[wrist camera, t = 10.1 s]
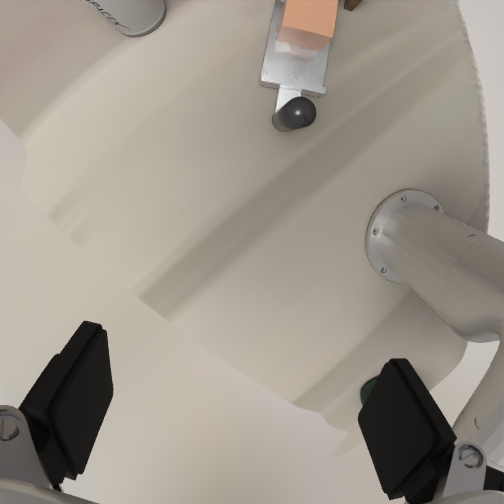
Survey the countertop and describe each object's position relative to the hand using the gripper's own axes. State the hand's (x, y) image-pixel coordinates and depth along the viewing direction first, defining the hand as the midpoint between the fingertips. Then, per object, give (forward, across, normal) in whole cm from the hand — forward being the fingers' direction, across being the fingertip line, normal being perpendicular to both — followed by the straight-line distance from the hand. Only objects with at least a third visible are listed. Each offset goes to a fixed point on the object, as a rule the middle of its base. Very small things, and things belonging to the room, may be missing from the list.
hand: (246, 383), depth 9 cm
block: (+27, -3, -22) cm, 35 cm away
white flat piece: (+28, -3, -18) cm, 34 cm away
